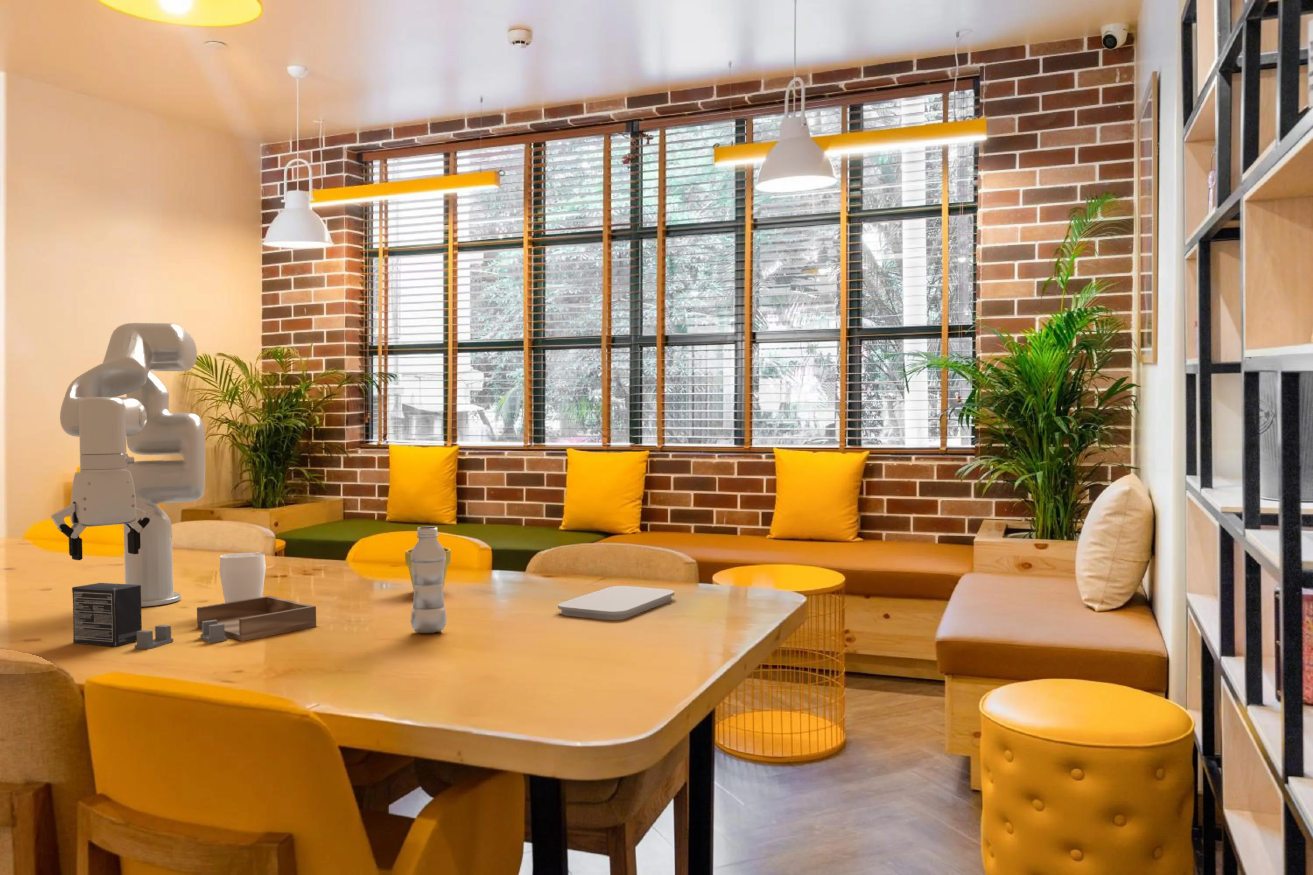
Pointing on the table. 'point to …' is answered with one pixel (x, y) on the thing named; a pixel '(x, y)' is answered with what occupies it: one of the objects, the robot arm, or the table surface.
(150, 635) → the clip
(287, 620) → the holder
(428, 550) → the plastic bottle
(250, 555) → the cup
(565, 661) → the table surface
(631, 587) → the tablet
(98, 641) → the small box
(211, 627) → the clip
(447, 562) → the plant pot
